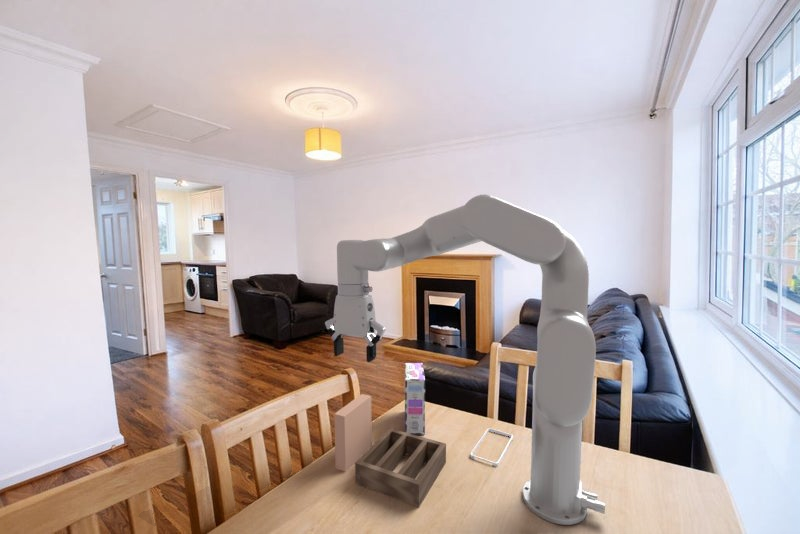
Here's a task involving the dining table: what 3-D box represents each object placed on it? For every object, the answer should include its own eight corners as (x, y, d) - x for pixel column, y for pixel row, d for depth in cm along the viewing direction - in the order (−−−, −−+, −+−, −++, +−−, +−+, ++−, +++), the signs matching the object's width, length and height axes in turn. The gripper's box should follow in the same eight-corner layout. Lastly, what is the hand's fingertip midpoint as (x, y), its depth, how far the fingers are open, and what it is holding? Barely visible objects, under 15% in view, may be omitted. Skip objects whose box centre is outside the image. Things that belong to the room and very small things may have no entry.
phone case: (488, 431, 104) (469, 459, 91) (488, 427, 104) (469, 454, 91) (513, 439, 100) (497, 469, 88) (513, 434, 100) (497, 463, 87)
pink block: (371, 445, 97) (371, 396, 95) (345, 472, 86) (344, 416, 85) (362, 442, 98) (361, 393, 97) (335, 468, 87) (334, 413, 86)
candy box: (425, 435, 101) (425, 379, 100) (404, 435, 102) (404, 379, 100) (423, 411, 115) (423, 361, 114) (405, 411, 115) (404, 361, 114)
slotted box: (445, 462, 89) (446, 443, 89) (419, 507, 75) (419, 484, 74) (389, 445, 97) (389, 428, 96) (355, 483, 82) (355, 462, 82)
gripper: (391, 290, 88) (392, 357, 89) (334, 286, 95) (335, 348, 97) (375, 294, 81) (376, 368, 82) (315, 290, 89) (317, 357, 90)
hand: (354, 357), depth 90 cm, fingers open, 9 cm apart
